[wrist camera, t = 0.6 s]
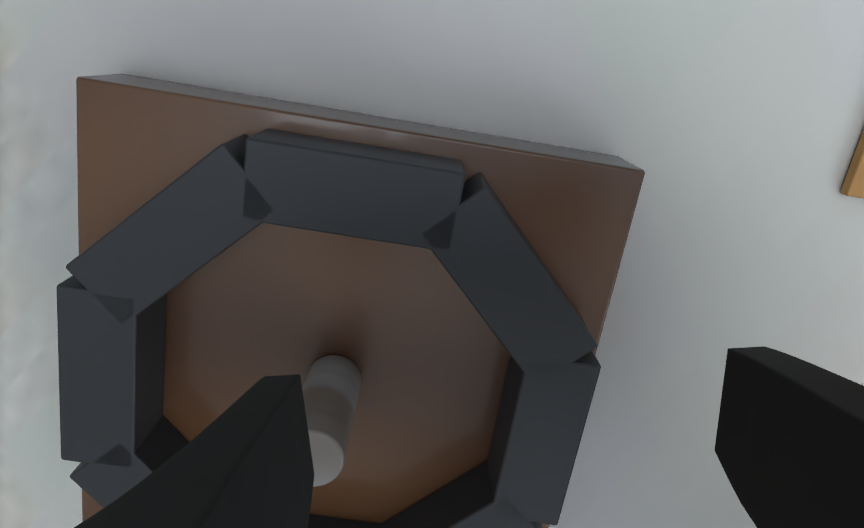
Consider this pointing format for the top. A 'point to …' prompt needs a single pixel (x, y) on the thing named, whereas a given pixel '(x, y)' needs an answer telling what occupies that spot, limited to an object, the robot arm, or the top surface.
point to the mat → (855, 173)
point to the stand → (346, 286)
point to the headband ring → (342, 215)
